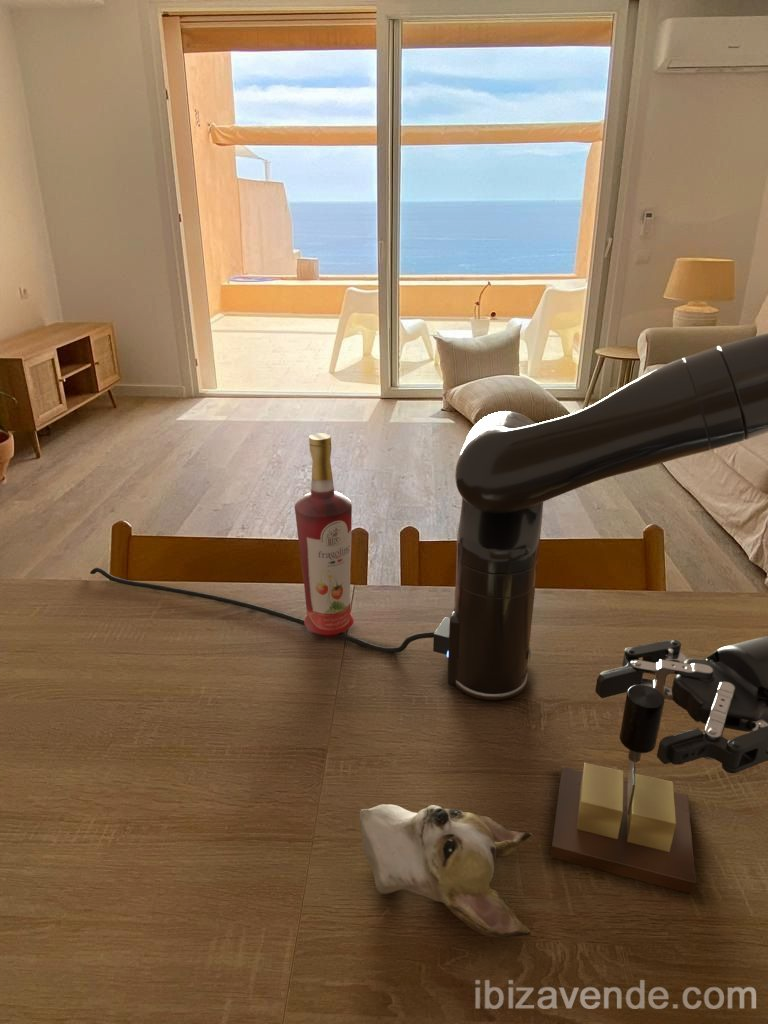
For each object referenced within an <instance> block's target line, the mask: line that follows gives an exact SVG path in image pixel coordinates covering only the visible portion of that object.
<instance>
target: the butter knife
mask: <svg viewBox="0 0 768 1024" xmlns="http://www.w3.org/2000/svg"><path fill="white" fill-rule="evenodd" d="M664 706H665V699H664V696H663V695H662V693H661V692H659V691H658V690H657V689H655V688H653V687H650V686H647V685H634V686H632V687H630V688H629V689H628V691H627V692H626V697H625V703H624V707H623V714H622V719H621V725H620V732H619V740H620V742H621V744H622V745H623V746H624V748H626V749H628V756H627V757H628V759H627V781H628V789H627V814H628V815H630V810H631V805H632V800H633V795H634V789H635V774H636V763H639V762H640V761H641V757H642V754H647V753H650V752H652V751H654V749H655V748H656V745H657V739H658V737H659V736H658V735H659V730H660V727H661V721H662V715H663V710H664Z"/></svg>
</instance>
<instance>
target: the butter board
mask: <svg viewBox="0 0 768 1024" xmlns="http://www.w3.org/2000/svg"><path fill="white" fill-rule="evenodd" d="M627 789H628V780H624V771H623V770H620V769H615V768H610V767H606V766H601V765H597V764H594V763H593V764H592V763H588V762H584V763H583V769H582V770H578V769H573V768H569V767H565V766H561V772H560V777H559V786H558V794H557V801H556V809H555V817H554V826H553V834H552V841H551V842H552V843H551V850H550V858H551V859H555V860H559V861H562V862H566V863H571V864H574V865H578V866H581V867H585V868H590V869H593V870H597V871H601V872H604V873H609V874H613V875H617V876H621V877H623V878H628V879H631V880H636V881H640V882H644V883H647V884H652V885H654V886H655V885H656V886H659V887H662V888H666V889H670V890H675V891H679V892H681V893H682V892H683V893H685V894H690V895H694V891H695V889H696V888H695V887H696V885H697V881H696V880H697V879H696V870H695V868H696V867H695V858H694V848H693V847H694V846H693V837H692V825H691V815H690V804H689V802H690V801H689V795H688V794H686V793H683V792H677V791H675V789H674V781H670V780H666V779H661V778H657V777H653V776H649V775H643V774H638V773H635V789H634V795H633V800H632V805H631V810H630V815H628V814H627Z"/></svg>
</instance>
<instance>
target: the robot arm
mask: <svg viewBox="0 0 768 1024" xmlns="http://www.w3.org/2000/svg"><path fill="white" fill-rule="evenodd" d="M766 434H768V333H763V334H758V335H755V336H750V337H746V338H742V339H737V340H733V341H730V342H726V343H723V344H719V345H717V346H713V347H711V348H707V349H705V350H702V351H699V352H696V353H693V354H690V355H687V356H685V357H682V358H681V357H680V358H679V359H676V360H673V361H670V362H667V363H666V364H663V365H661V366H659V367H657V368H654V369H652V370H651V371H648V372H647V373H645V374H643V375H641V376H639V377H637V378H636V379H634V380H632V381H631V382H629V383H627V384H626V385H624V386H622V387H620V388H619V389H618V390H616V391H614V392H612V393H610V394H609V395H608V396H606V397H604V398H602V399H601V400H599V401H597V402H595V403H594V404H592V405H589V406H588V407H585V408H584V409H580V410H578V411H576V412H574V413H573V412H572V413H570V414H568V415H564V416H561V417H557V418H554V419H550V420H546V421H542V422H539V423H536V422H535V421H533V419H531V418H529V417H528V416H527V415H524V414H522V413H520V412H519V413H518V412H516V411H515V412H514V411H506V410H505V411H498V412H494V413H491V414H488V415H487V416H484V417H482V419H480V420H479V421H477V423H475V424H474V425H473V426H472V428H471V429H470V431H469V433H468V434H467V436H466V438H465V441H464V443H463V445H462V447H461V449H460V451H459V455H458V457H457V460H456V463H455V464H456V465H455V471H454V474H455V475H454V478H455V479H454V481H455V486H456V489H457V491H458V493H459V495H460V496H461V506H460V515H459V521H458V527H457V533H456V549H455V550H456V556H455V557H456V558H455V559H456V560H455V580H454V581H455V582H454V583H455V584H454V605H453V607H454V608H453V609H452V613H451V615H450V617H447V616H444V618H443V619H442V621H441V622H440V624H439V625H438V626H437V628H436V630H434V631H428V632H427V631H426V632H418V633H414V634H412V635H409V636H407V637H406V638H405V639H404V640H403V641H402V643H401V644H400V645H399V646H394V647H386V646H385V647H384V646H380V645H377V644H373V643H370V642H367V641H365V640H362V639H360V638H358V637H354V636H352V635H349V634H346V633H344V632H343V633H340V634H337V635H335V637H334V638H339V639H342V640H344V641H348V642H350V643H353V644H356V645H358V646H361V647H364V648H366V649H371V650H374V651H379V652H381V653H382V652H383V653H388V654H395V653H397V654H398V653H402V652H403V651H404V650H406V648H407V647H408V645H409V644H410V643H412V642H414V641H416V640H417V641H418V640H421V639H430V638H431V639H433V643H432V644H433V645H432V646H433V647H432V651H433V652H434V653H439V654H443V655H446V657H447V680H446V681H447V682H446V683H447V684H448V685H450V686H454V687H456V688H457V689H458V690H460V691H461V692H462V693H464V694H466V695H467V696H470V697H472V698H475V699H478V700H483V701H505V700H509V699H511V698H514V697H516V696H517V695H519V694H521V693H522V692H523V690H524V689H525V688H526V687H527V683H528V670H529V659H531V635H532V625H533V614H534V603H535V593H536V584H537V583H536V582H537V572H538V561H539V553H540V544H541V535H542V534H541V533H542V526H543V525H542V524H543V523H542V522H543V511H544V502H546V501H549V500H552V499H554V498H556V497H559V496H561V495H564V494H566V493H569V492H571V491H574V490H577V489H578V488H581V487H584V486H587V485H590V484H592V483H596V482H599V481H601V480H604V479H608V478H611V477H615V476H618V475H619V476H620V475H622V474H627V473H630V472H634V471H638V470H641V469H645V468H649V467H652V466H656V465H660V464H664V463H667V462H670V461H674V460H678V459H682V458H685V457H689V456H693V455H698V454H702V453H705V452H709V451H713V450H716V449H719V448H723V447H727V446H730V445H734V444H737V443H741V442H744V441H747V440H750V439H754V438H757V437H759V436H763V435H766ZM89 573H90V574H91V575H95V574H96V573H99V574H101V575H102V576H103V577H104V578H107V579H108V580H110V581H112V582H114V583H118V584H123V585H126V586H133V587H139V588H146V589H150V590H151V589H153V590H158V591H163V592H169V593H175V594H180V595H187V596H190V597H191V596H192V597H197V598H202V599H207V600H211V601H215V602H216V601H217V602H221V603H226V604H229V605H234V606H237V607H242V608H246V609H249V610H253V611H257V612H260V613H264V614H268V615H271V616H274V617H277V618H280V619H284V620H286V621H290V622H293V623H296V624H298V625H301V626H304V627H306V626H305V624H304V620H305V619H303V618H299V617H296V616H293V615H290V614H288V613H287V614H286V613H284V612H281V611H278V610H274V609H270V608H268V607H264V606H261V605H256V604H252V603H249V602H245V601H240V600H237V599H232V598H228V597H225V596H219V595H214V594H209V593H206V592H205V593H204V592H201V591H200V592H199V591H195V590H189V589H182V588H178V587H177V588H176V587H172V586H167V585H166V586H165V585H160V584H154V583H149V582H141V581H134V580H128V579H124V578H120V577H117V576H114V575H112V574H110V573H109V572H107V571H106V570H105V569H103V568H101V567H94V568H92V569H91V571H90V572H89ZM681 647H682V642H680V641H679V640H678V639H666V640H660V641H655V642H651V643H645V644H639V645H635V646H634V645H633V646H629V647H625V649H624V653H623V658H622V665H621V666H620V667H616V668H612V669H608V670H604V671H602V672H600V673H599V674H598V676H597V678H596V684H595V694H596V695H598V696H599V697H600V698H601V699H605V698H610V697H614V696H618V695H621V694H624V693H627V691H628V689H629V688H630V687H632V686H634V685H647V686H650V687H653V688H655V689H657V690H658V691H659V692H661V693H662V695H663V696H664V700H670V701H673V702H674V704H676V705H677V706H678V707H680V708H682V709H684V710H685V711H686V712H687V713H688V715H689V717H690V718H691V719H692V720H693V721H695V722H696V723H702V724H703V725H705V728H704V731H702V730H701V729H700V728H699V727H696V728H693V729H689V730H685V731H682V732H678V733H675V734H671V735H668V736H665V737H663V738H662V739H660V741H659V744H658V747H657V753H656V757H657V759H659V761H660V762H661V763H662V764H663V765H668V764H672V765H683V764H685V763H689V762H692V761H695V760H700V759H705V760H709V761H711V760H716V761H717V762H719V763H720V764H721V768H722V770H723V771H725V772H726V773H729V774H737V773H739V772H742V771H744V770H745V771H746V770H747V769H749V768H752V767H755V766H757V765H760V764H762V763H764V762H767V761H768V635H767V636H765V635H764V636H761V637H757V638H754V639H753V638H752V639H749V640H745V641H741V642H737V643H732V644H729V645H725V646H722V647H720V648H718V649H716V650H715V651H713V653H711V654H710V655H709V656H707V657H705V658H693V657H692V658H691V657H690V658H688V657H687V656H686V655H685V654H684V653H683V652H682V651H681ZM641 658H642V659H641ZM644 674H649V675H655V678H654V679H650V678H644V677H643V675H644ZM670 674H673V675H675V676H674V677H673V681H672V686H667V685H666V680H667V676H668V675H670ZM725 729H728V730H734V731H738V732H739V731H740V732H744V733H745V732H746V733H745V734H742V735H739V736H736V737H734V738H733V737H732V738H731V739H728V738H727V739H726V738H725V737H724V736H723V734H724V732H725Z"/></svg>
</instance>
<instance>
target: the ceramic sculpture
mask: <svg viewBox="0 0 768 1024" xmlns="http://www.w3.org/2000/svg"><path fill="white" fill-rule="evenodd" d="M358 819H359V825H360V836H361V844H362V851H363V854H364V856H365V857H366V860H367V862H368V863H369V865H370V867H371V870H372V873H373V878H374V883H375V887H376V890H377V892H379V893H380V894H382V895H388V894H392V893H395V892H397V891H401V890H402V891H409V892H411V893H413V894H416V895H419V896H423V897H426V898H429V899H431V900H433V901H435V902H439V903H443V904H444V905H445V907H446V908H447V909H448V910H449V911H450V912H451V913H452V914H453V915H454V916H455V917H456V918H458V919H459V920H460V921H461V922H463V923H464V924H465V925H466V926H467V927H469V928H470V929H472V930H474V931H476V932H477V933H480V934H482V935H485V936H488V937H489V936H490V937H496V938H515V937H524V936H525V937H526V936H529V935H531V934H532V931H531V930H530V929H529V928H528V927H527V926H526V925H524V923H522V922H521V921H520V919H519V918H518V916H517V915H516V914H515V912H514V911H513V910H512V908H511V906H510V904H509V903H508V901H507V900H506V898H504V897H503V896H502V895H501V894H500V893H499V892H498V891H496V890H495V889H493V888H491V887H490V885H491V882H492V880H493V878H494V874H495V871H496V859H502V858H507V857H508V856H509V855H511V854H512V853H514V852H515V851H516V850H517V849H518V848H520V847H521V846H522V845H524V844H525V843H527V842H528V841H530V840H531V839H532V837H533V834H532V832H527V831H523V830H520V831H517V830H514V829H511V828H509V827H507V826H505V825H504V824H502V823H500V822H496V821H495V820H494V819H492V818H490V817H488V816H486V815H479V814H476V813H473V812H468V811H466V812H465V811H463V810H460V809H456V808H442V807H441V806H439V805H437V804H430V805H428V807H426V808H422V809H420V810H419V811H418V812H414V811H411V810H407V809H406V808H403V807H401V806H399V805H396V804H390V803H389V804H385V803H382V804H379V805H376V806H373V807H371V808H362V809H360V811H359V817H358Z"/></svg>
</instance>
